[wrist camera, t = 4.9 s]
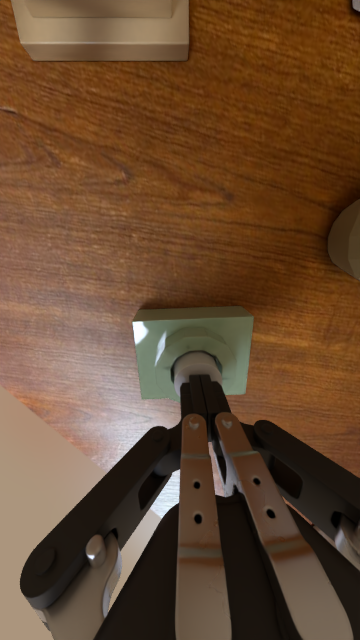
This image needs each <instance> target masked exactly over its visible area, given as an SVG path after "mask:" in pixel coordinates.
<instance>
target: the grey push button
mask: <svg viewBox="0 0 360 640" xmlns="http://www.w3.org/2000/svg"><path fill="white" fill-rule="evenodd" d="M206 374H209V375H210V378H211V381H217V382H218V383H219V384H220V385H221V386H222V376H221V373H220V371H219V368H218V366H217V363H216V361H215V359H214V357H213V356H212V355H211V354H210V353H208V352H206V351H204V350H196V351H188V352H186V353H184V354H183V355H181V356H179V357H178V358H177V360H176V362H175V364H174V388H175V391H176V393H177V394H178V395H179V397H180V386H181V385H182V383H187V382H189V375H206Z"/></svg>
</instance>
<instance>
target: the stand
mask: <svg viewBox="0 0 360 640" xmlns="http://www.w3.org/2000/svg"><path fill="white" fill-rule="evenodd" d="M11 2H12V7H13V11H14V16H15V20H16V25H17V30H18V34H19V39H20V43H21V45H22V46H23V47H24V49H25V50H26V51H27V53H28V54H29V55H30V57H31V58H32V59H33V60H34V61H187V60H188V50H189V0H11Z"/></svg>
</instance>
